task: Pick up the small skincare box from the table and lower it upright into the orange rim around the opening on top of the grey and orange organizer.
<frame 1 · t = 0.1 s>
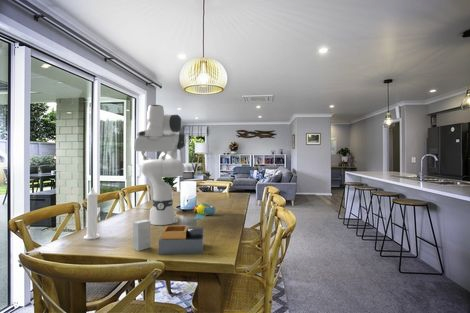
hand: (154, 160, 135), 39 cm above the table, tool pointing down, fingers open, 8 cm apart
candle: (91, 237, 127), on the table
skincare box: (141, 248, 113), on the table
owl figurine: (204, 216, 179), on the table
grey and orange organizer: (182, 249, 112), on the table
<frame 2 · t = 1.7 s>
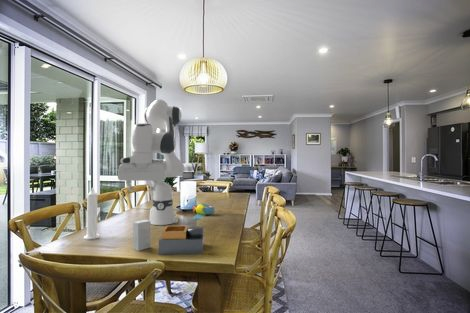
hand: (142, 190, 113), 25 cm above the table, tool pointing down, fingers open, 8 cm apart
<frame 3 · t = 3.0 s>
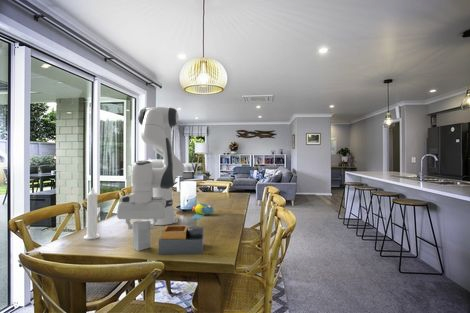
hand: (141, 228, 112), 9 cm above the table, tool pointing down, fingers open, 8 cm apart
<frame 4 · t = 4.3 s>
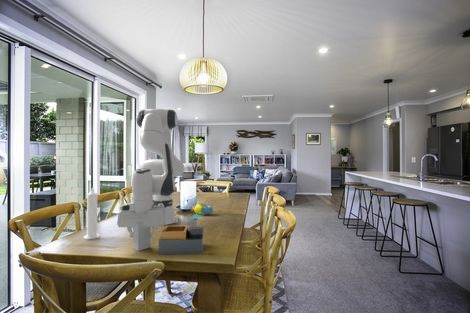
hand: (141, 236, 113), 5 cm above the table, tool pointing down, fingers closed on skincare box, 7 cm apart
skincare box: (141, 248, 113), on the table, touching gripper
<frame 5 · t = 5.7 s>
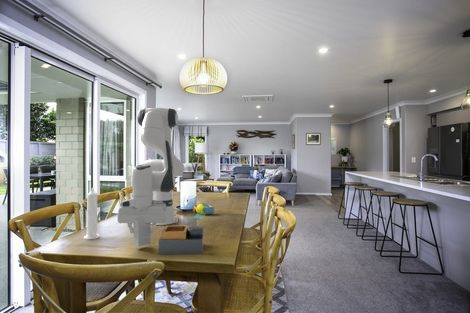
hand: (142, 232, 113), 7 cm above the table, tool pointing down, fingers closed on skincare box, 7 cm apart
skincare box: (141, 244, 113), point 1 cm above the table, touching gripper
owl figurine: (203, 215, 181), on the table
everything else where it was.
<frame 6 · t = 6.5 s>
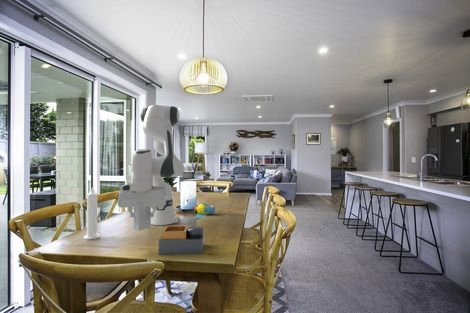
hand: (142, 217, 113), 14 cm above the table, tool pointing down, fingers closed on skincare box, 7 cm apart
skincare box: (142, 229, 113), point 8 cm above the table, touching gripper
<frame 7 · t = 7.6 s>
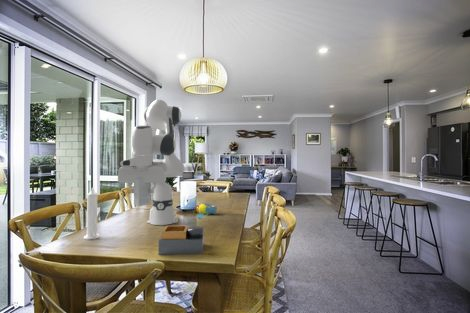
hand: (142, 193, 113), 24 cm above the table, tool pointing down, fingers closed on skincare box, 7 cm apart
skincare box: (142, 205, 113), point 19 cm above the table, touching gripper
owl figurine: (206, 215, 182), on the table
everything else where it was.
when the fingers open (12 cm above the table, at t = 12.8 s): skincare box stays where it is, resting on grey and orange organizer.
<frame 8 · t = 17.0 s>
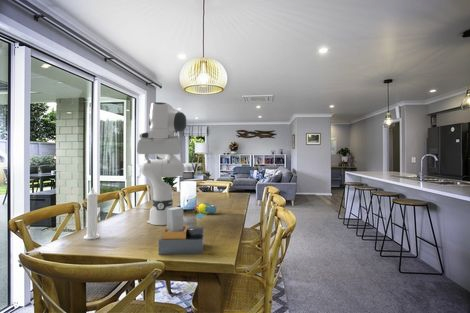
hand: (159, 163, 123), 37 cm above the table, tool pointing down, fingers open, 8 cm apart
skincare box: (175, 235, 112), point 6 cm above the table, touching grey and orange organizer
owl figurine: (205, 215, 183), on the table
everything else where it was.
at the end: skincare box 0.3 cm from the target spot on the grey and orange organizer, point 5.8 cm above the grey and orange organizer's base; skincare box tilted 0°; the gripper is holding nothing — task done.
